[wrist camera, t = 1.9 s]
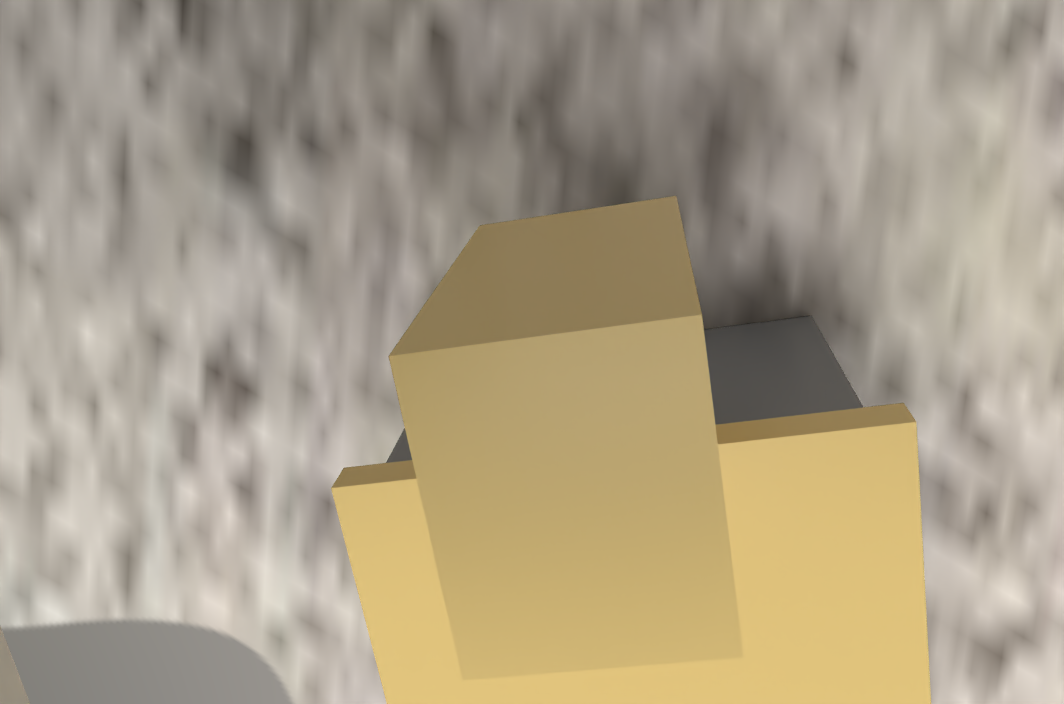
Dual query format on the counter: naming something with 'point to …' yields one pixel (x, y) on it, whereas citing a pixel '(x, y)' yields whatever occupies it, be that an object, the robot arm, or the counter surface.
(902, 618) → the lid
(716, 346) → the tub
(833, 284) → the counter surface
